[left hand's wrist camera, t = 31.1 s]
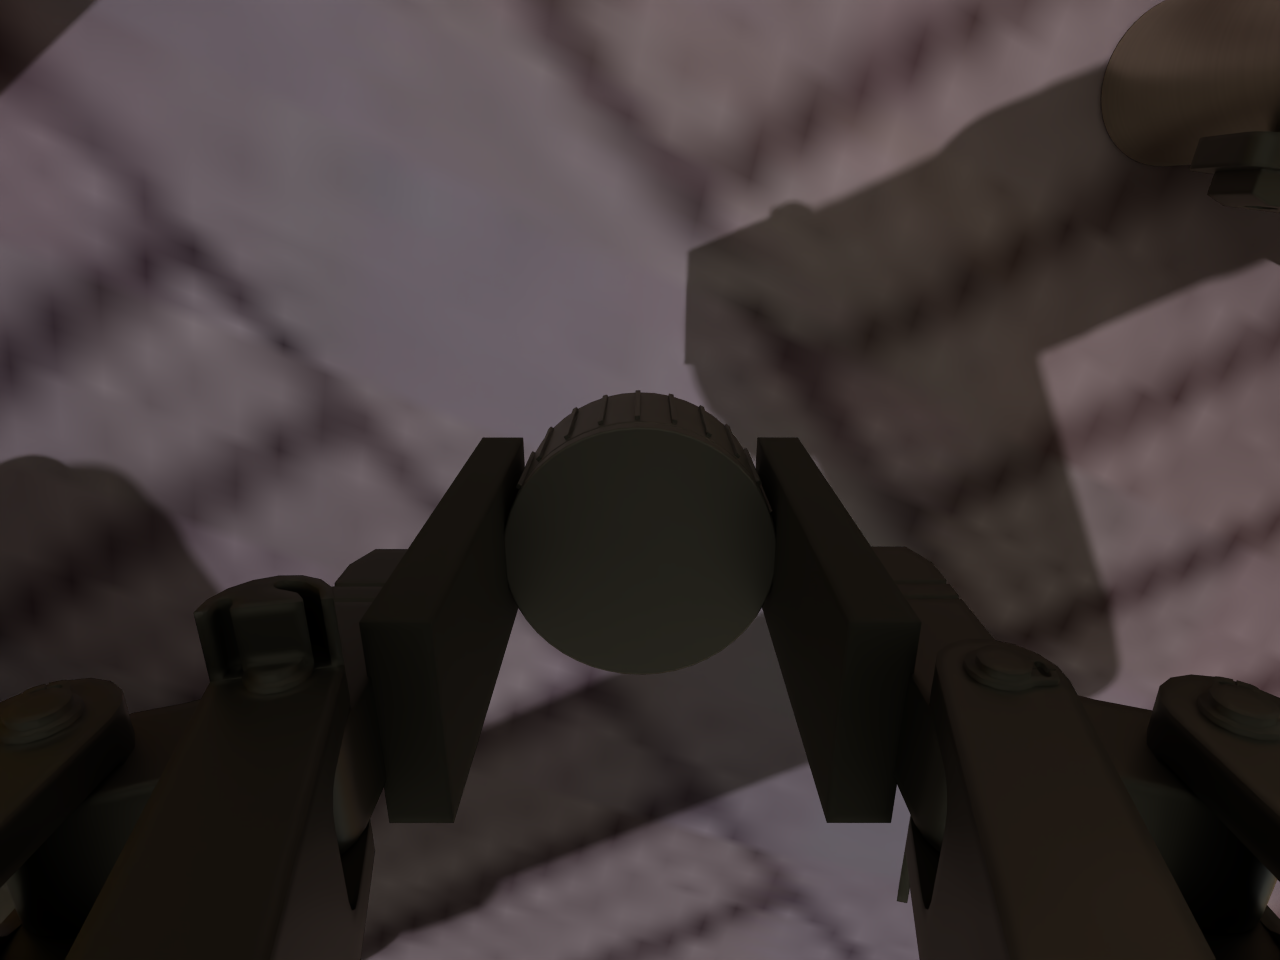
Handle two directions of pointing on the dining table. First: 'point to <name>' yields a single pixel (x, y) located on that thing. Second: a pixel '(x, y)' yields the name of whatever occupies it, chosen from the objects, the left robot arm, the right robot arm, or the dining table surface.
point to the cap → (640, 535)
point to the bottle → (1193, 77)
